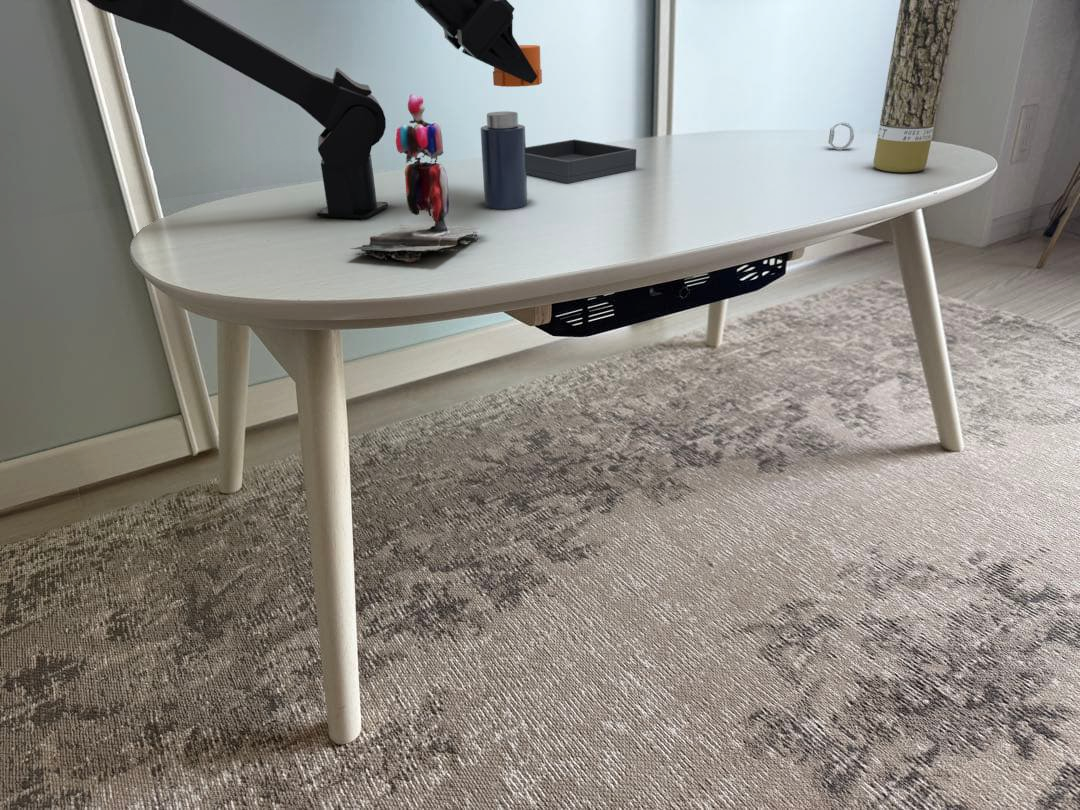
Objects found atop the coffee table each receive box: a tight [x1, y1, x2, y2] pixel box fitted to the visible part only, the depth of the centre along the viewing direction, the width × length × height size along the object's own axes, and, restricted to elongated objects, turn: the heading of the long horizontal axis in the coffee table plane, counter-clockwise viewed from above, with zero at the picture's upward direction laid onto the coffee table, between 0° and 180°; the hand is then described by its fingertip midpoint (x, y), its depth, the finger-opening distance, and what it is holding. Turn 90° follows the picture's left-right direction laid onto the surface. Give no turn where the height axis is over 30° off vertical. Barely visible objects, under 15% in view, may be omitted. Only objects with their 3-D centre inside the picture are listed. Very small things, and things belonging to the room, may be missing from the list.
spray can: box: [480, 110, 528, 210], centre depth 93 cm, size 5×5×10 cm
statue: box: [350, 94, 481, 263], centre depth 76 cm, size 11×9×15 cm
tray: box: [526, 139, 637, 184], centre depth 113 cm, size 13×13×3 cm
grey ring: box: [828, 121, 855, 151], centre depth 122 cm, size 4×2×4 cm, turn 70°
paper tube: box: [873, 0, 960, 174], centre depth 102 cm, size 7×7×25 cm
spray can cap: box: [492, 44, 543, 88], centre depth 90 cm, size 5×5×4 cm
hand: (529, 78), depth 91 cm, fingers closed on spray can cap, 5 cm apart
